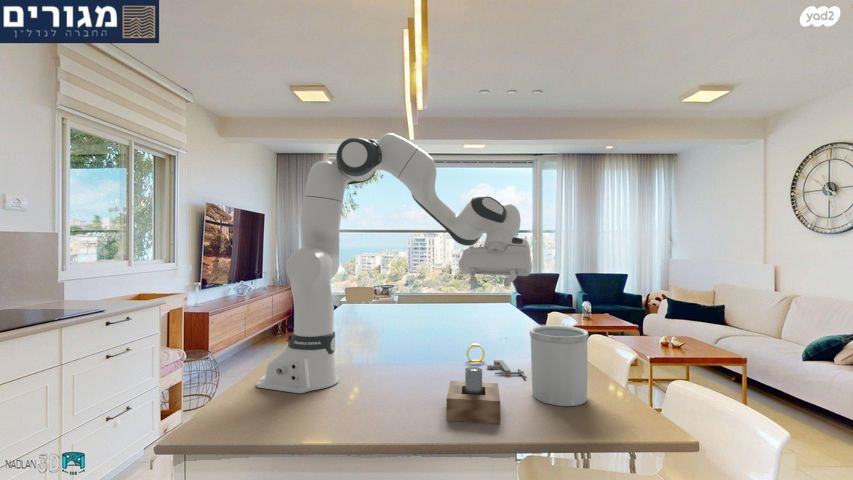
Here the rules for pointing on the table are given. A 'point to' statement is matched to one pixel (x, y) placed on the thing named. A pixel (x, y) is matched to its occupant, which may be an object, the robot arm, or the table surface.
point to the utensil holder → (559, 364)
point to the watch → (475, 346)
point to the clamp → (501, 365)
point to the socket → (473, 404)
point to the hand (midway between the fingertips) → (489, 284)
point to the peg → (473, 381)
